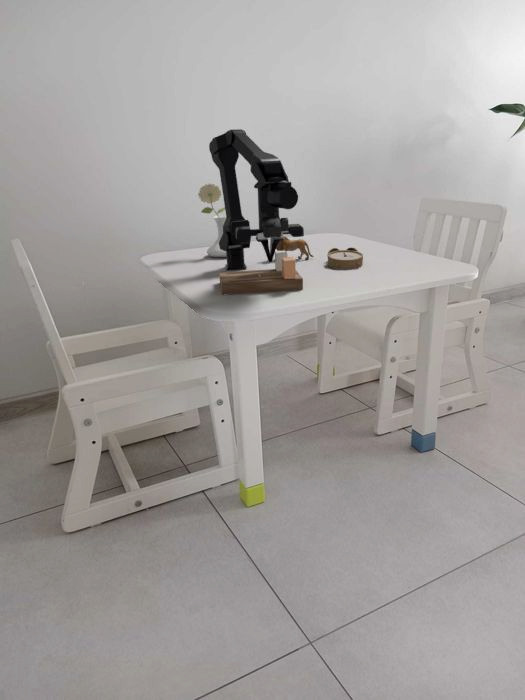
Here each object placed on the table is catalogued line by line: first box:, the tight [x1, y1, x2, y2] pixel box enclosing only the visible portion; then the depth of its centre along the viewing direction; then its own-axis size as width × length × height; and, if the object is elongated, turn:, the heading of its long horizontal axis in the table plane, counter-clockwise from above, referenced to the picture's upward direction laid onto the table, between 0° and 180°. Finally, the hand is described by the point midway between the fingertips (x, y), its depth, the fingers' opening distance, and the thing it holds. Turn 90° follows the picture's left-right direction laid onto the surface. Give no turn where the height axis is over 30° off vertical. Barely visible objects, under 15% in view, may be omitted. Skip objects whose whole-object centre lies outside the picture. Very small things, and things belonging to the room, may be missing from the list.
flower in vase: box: [197, 183, 226, 258], centre depth 177 cm, size 13×11×25 cm
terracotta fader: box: [282, 256, 296, 279], centre depth 137 cm, size 4×3×5 cm
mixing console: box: [218, 268, 304, 296], centre depth 142 cm, size 13×22×3 cm, turn 97°
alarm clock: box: [327, 247, 364, 270], centre depth 164 cm, size 11×5×15 cm
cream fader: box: [274, 250, 288, 271], centre depth 145 cm, size 4×3×5 cm
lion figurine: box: [275, 235, 314, 261], centre depth 172 cm, size 15×5×9 cm, turn 92°
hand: (270, 262), depth 145 cm, fingers closed
